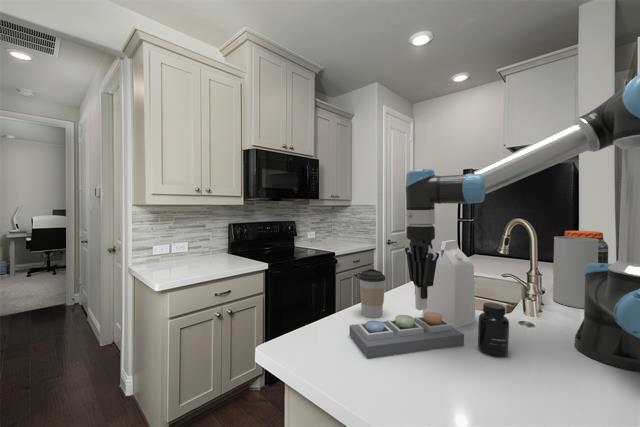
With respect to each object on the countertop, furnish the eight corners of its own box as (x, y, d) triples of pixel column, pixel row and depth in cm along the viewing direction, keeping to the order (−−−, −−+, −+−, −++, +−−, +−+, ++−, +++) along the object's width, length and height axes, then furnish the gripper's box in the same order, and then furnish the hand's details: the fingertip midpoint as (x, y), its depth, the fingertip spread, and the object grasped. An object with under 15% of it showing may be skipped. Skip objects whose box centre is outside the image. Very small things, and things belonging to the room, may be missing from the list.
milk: (443, 309, 104) (444, 238, 103) (475, 320, 94) (476, 241, 93) (422, 317, 97) (423, 240, 96) (454, 329, 88) (455, 244, 87)
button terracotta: (446, 323, 81) (446, 317, 81) (430, 325, 80) (430, 319, 80) (435, 316, 86) (435, 311, 86) (420, 318, 85) (420, 312, 84)
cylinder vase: (549, 303, 110) (551, 238, 109) (555, 296, 119) (557, 235, 118) (594, 312, 101) (596, 241, 100) (598, 303, 109) (599, 238, 109)
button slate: (387, 332, 77) (387, 327, 77) (370, 335, 75) (370, 328, 75) (379, 325, 81) (379, 319, 81) (362, 327, 80) (362, 321, 80)
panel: (463, 345, 78) (464, 328, 78) (367, 358, 71) (367, 340, 71) (433, 325, 90) (434, 311, 90) (349, 335, 84) (349, 320, 84)
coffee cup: (385, 320, 95) (385, 275, 94) (357, 318, 96) (357, 273, 96) (384, 310, 103) (385, 268, 103) (359, 308, 105) (359, 267, 105)
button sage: (417, 326, 79) (417, 320, 79) (401, 328, 78) (401, 322, 78) (407, 319, 84) (407, 314, 84) (392, 321, 82) (392, 315, 82)
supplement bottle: (498, 360, 70) (499, 312, 70) (472, 348, 76) (472, 303, 76) (514, 354, 73) (515, 307, 73) (488, 342, 79) (488, 299, 79)
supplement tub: (601, 288, 129) (603, 231, 128) (613, 298, 116) (614, 234, 115) (556, 283, 137) (557, 229, 137) (562, 291, 124) (563, 232, 123)
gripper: (396, 224, 86) (397, 302, 86) (422, 227, 73) (423, 319, 74) (418, 223, 88) (419, 300, 88) (447, 226, 75) (448, 315, 76)
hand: (421, 308), depth 81 cm, fingers closed
